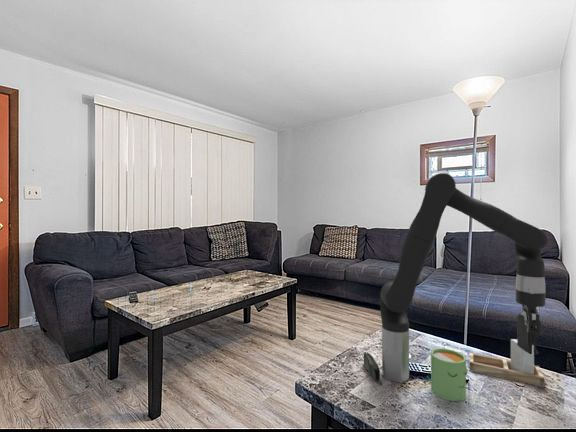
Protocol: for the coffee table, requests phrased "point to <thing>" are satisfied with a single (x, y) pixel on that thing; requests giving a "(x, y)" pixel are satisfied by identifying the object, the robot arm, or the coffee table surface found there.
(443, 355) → the mug
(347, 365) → the coffee table surface
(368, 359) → the mobile phone
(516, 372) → the slot organizer
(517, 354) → the skincare box
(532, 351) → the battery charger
